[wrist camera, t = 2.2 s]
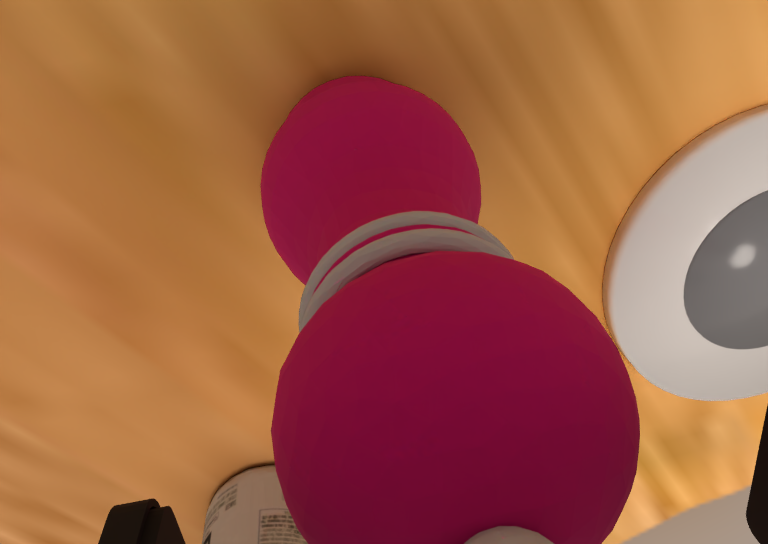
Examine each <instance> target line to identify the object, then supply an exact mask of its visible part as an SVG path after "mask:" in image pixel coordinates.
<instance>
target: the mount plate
mask: <svg viewBox="0 0 768 544" xmlns="http://www.w3.org/2000/svg"><path fill="white" fill-rule="evenodd" d="M602 287H603V308H604V313H605V319H606V322H607V325H608V328H609V331H610V334H611V336H612V338H613V339H614V341H615V343H616V345H617V346H618V348H619V349H620V351H621V352H622V353H623V354H624V355H625V357H626V358H627V359H628V360H629V361H630V363H631V364H632V365H633V366H634V367H635V368H636V370H637V371H638V372H639V373H640V374H641V375H642V376H643V377H645V378H646V379H647V380H648V381H649V382H650V383H652V384H654V385H655V386H657V387H659V388H661V389H662V390H664V391H667V392H669V393H672V394H674V395H677V396H680V397H685V398H689V399H694V400H705V401H727V400H735V399H742V398H747V397H752V396H756V395H760V394H764V393H767V392H768V104H767V105H763V106H759V107H756V108H754V109H751V110H748V111H745V112H743V113H740V114H737V115H735V116H733V117H731V118H729V119H727V120H725V121H723V122H721V123H719V124H717V125H715V126H714V127H712V128H710V129H709V130H707V131H706V132H704V133H702V134H701V135H699V136H698V137H696V138H695V139H693V140H692V141H691V142H690V143H688V144H687V145H686V146H684V147H683V148H682V149H681V150H679V151H678V152H677V153H675V154H674V155H673V156H672V157H671V158H670V159H669V160H668V161H667V162H666V163H665V164H664V165H663V166H662V167H661V168H660V169H659V170H658V171H657V172H656V173H655V174H654V175H653V177H652V178H651V179H650V180H649V181H648V183H647V184H646V185H645V186H644V187H643V188H642V190H641V191H640V193H639V194H638V195H637V197H636V198H635V200H634V201H633V203H632V204H631V206H630V207H629V209H628V210H627V212H626V214H625V216H624V218H623V220H622V222H621V223H620V225H619V227H618V229H617V232H616V234H615V237H614V239H613V242H612V244H611V247H610V250H609V254H608V257H607V261H606V265H605V270H604V278H603V286H602Z"/></svg>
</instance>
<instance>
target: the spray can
mask: <svg viewBox="0 0 768 544" xmlns="http://www.w3.org/2000/svg"><path fill="white" fill-rule="evenodd" d="M202 544H308V543H307V542H306V540H305V539H304V538H303V536H302V535H301V533H300V532H299V531H298V529H297V527H296V525H295V523H294V521H293V518H292V516H291V514H290V512H289V510H288V508H287V505H286V502H285V499H284V496H283V492H282V489H281V486H280V483H279V479H278V476H277V473H276V468H275V465H272V466H263V467H257V468H252V469H248V470H245V471H244V472H242V473H240V474H238V475H236V476H234V477H232V478H231V479H230V480H229V481H228V482H226V483H225V484H224V485H223V486H222V487H221V488H220V489H219V490H218V491H217V493H216V494H215V496H214V497H213V499H212V501H211V504H210V506H209V508H208V511H207V514H206V520H205V527H204V534H203V541H202Z"/></svg>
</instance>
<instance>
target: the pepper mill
mask: <svg viewBox="0 0 768 544" xmlns="http://www.w3.org/2000/svg"><path fill="white" fill-rule="evenodd" d="M261 197H262V208H263V214H264V219H265V224H266V227H267V230H268V233H269V236H270V239H271V241H272V242H273V244H274V246H275V248H276V250H277V252H278V253H279V255H280V256H281V258H282V259H283V260H284V262H285V263H286V265H287V266H288V267H289V269H290V270H291V271H292V273H293V274H294V275H295V276H296V277H297V278H298V279H299V280H300V281H301V282H302V283H304V284H305V285H306V286H305V288H304V291H303V294H302V298H301V303H300V309H299V331H300V334H299V335H298V337H297V339H296V341H295V343H294V345H293V347H292V349H291V351H290V353H289V354H288V356H287V358H286V360H285V362H284V364H283V366H282V368H281V370H280V375H279V381H278V387H277V393H276V399H275V406H274V413H273V421H272V428H271V434H272V442H273V451H274V459H275V468H276V473H277V476H278V479H279V483H280V486H281V489H282V492H283V496H284V499H285V502H286V505H287V508H288V510H289V512H290V514H291V516H292V518H293V521H294V523H295V525H296V527H297V529H298V531H299V532H300V533H301V535H302V536H303V538H304V539H305V540H306V542H307V543H308V544H601V543H602V542H603V541H604V540H605V539H606V537H607V536H608V535H609V534H610V533H611V531H612V530H613V528H614V526H615V524H616V522H617V520H618V518H619V516H620V514H621V512H622V510H623V508H624V505H625V503H626V501H627V499H628V496H629V494H630V492H631V489H632V485H633V482H634V478H635V475H636V470H637V461H638V452H639V440H640V424H639V414H638V408H637V402H636V397H635V394H634V390H633V387H632V384H631V381H630V378H629V375H628V372H627V369H626V367H625V365H624V363H623V360H622V358H621V356H620V353H619V351H618V349H617V347H616V345H615V344H614V342H613V341H612V339H611V338H610V336H609V335H608V333H607V332H606V330H605V329H604V327H603V326H602V325H601V323H600V322H599V320H598V319H597V317H596V316H595V315H594V314H593V313H592V312H591V311H590V310H589V309H588V308H587V307H586V306H585V305H584V304H583V303H582V302H581V301H580V300H579V299H578V298H577V297H576V296H575V295H574V294H573V293H572V292H571V291H570V290H569V289H568V288H566V287H565V286H563V285H562V284H561V283H559V282H558V281H556V280H555V279H553V278H552V277H551V276H549V275H548V274H546V273H545V272H544V271H541V270H539V269H537V268H534V267H532V266H529V265H527V264H524V263H521V262H518V261H516V260H514V258H513V257H512V255H511V254H510V252H509V251H508V250H507V249H506V248H505V246H504V245H503V244H502V243H501V242H500V241H499V240H498V239H497V238H496V237H495V236H493V235H492V234H491V233H490V232H488V231H487V230H486V229H485V228H483V227H481V226H479V225H478V218H479V213H480V207H481V184H480V177H479V169H478V166H477V162H476V159H475V156H474V153H473V151H472V149H471V147H470V145H469V143H468V142H467V140H466V138H465V136H464V134H463V133H462V131H461V129H460V128H459V127H458V125H457V124H456V123H455V121H454V120H453V119H452V117H451V116H450V115H449V114H448V113H447V112H446V111H445V110H444V109H443V108H442V107H441V106H440V105H438V104H437V103H436V102H434V101H433V100H431V99H430V98H428V97H427V96H425V95H424V94H422V93H419V92H417V91H415V90H413V89H411V88H408V87H405V86H402V85H398V84H394V83H391V82H389V81H386V80H383V79H380V78H375V77H368V76H346V77H342V78H338V79H335V80H331V81H328V82H326V83H324V84H322V85H320V86H318V87H316V88H314V89H313V90H312V91H311V92H309V93H308V94H307V95H305V96H304V97H303V98H302V99H301V100H300V101H299V102H298V104H297V105H296V106H295V107H294V108H293V110H292V111H291V112H290V114H289V115H288V117H287V119H286V121H285V122H284V124H283V125H282V126H281V128H280V129H279V130H278V132H277V133H276V135H275V137H274V139H273V141H272V143H271V145H270V147H269V149H268V151H267V154H266V158H265V161H264V165H263V168H262V177H261Z"/></svg>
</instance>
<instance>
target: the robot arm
mask: <svg viewBox="0 0 768 544" xmlns="http://www.w3.org/2000/svg"><path fill="white" fill-rule="evenodd" d="M746 518H747V522H748V525H749V528H750V529H751V532H752V534H753V535H754V536H755V538H756V539H757V540H758V542H759V543H760V544H768V406H767V411H766V416H765V421H764V426H763V431H762V435H761V440H760V445H759V450H758V455H757V460H756V465H755V470H754V475H753V480H752V485H751V490H750V495H749V500H748V506H747V511H746ZM98 544H185V541H184V539H183V536H182V534H181V531H180V528H179V526H178V523H177V521H176V518H175V515H174V513H173V511H172V509H171V507H169V506H166V507H161V508H160V505H159V503H158V502H157V501H156V500H155V499H148V500H143V501H137V502H132V503H127V504H121V505H116V506H114V507H113V508H112V509H111V510H110V512H109V514H108V517H107V520H106V523H105V525H104V528H103V531H102V534H101V537H100V540H99V543H98Z"/></svg>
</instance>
